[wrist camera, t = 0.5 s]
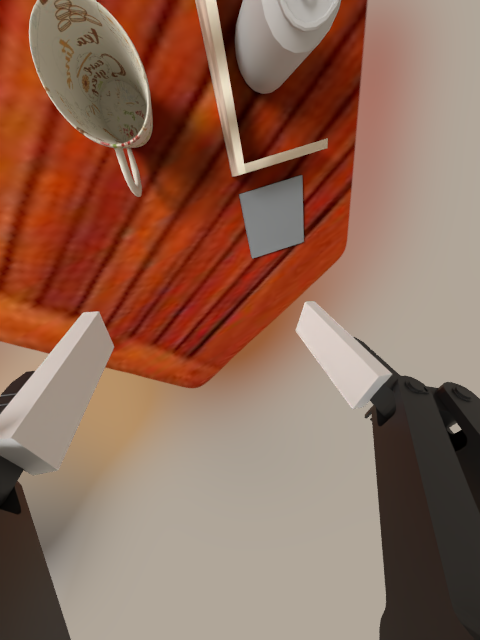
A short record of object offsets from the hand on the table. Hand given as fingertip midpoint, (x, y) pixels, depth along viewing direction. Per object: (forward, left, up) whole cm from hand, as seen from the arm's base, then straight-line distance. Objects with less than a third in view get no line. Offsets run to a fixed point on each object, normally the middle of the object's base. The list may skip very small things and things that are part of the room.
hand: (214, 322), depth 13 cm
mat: (+1, +14, -26) cm, 30 cm away
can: (-18, +15, -27) cm, 35 cm away
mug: (-14, -4, -27) cm, 30 cm away
